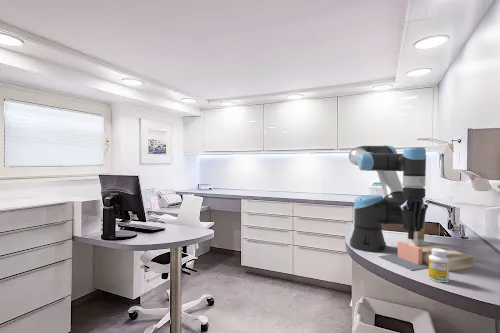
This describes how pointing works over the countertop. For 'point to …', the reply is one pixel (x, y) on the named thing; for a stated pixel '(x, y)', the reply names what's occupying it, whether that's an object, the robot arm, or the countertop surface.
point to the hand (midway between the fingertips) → (413, 247)
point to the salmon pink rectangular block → (410, 252)
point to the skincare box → (421, 234)
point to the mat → (404, 262)
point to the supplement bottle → (439, 265)
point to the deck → (455, 257)
